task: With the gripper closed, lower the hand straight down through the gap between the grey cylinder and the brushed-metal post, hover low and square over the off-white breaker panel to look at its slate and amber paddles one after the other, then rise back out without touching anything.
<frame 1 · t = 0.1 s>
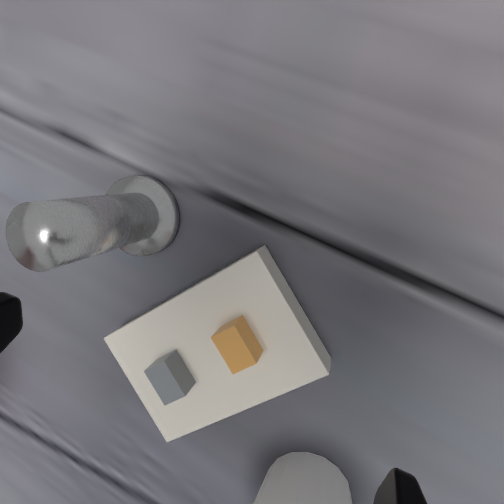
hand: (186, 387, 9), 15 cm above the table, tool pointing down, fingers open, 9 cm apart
breaker panel: (219, 341, 26), on the table
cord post: (143, 215, 25), on the table
grey cylinder: (307, 486, 26), on the table
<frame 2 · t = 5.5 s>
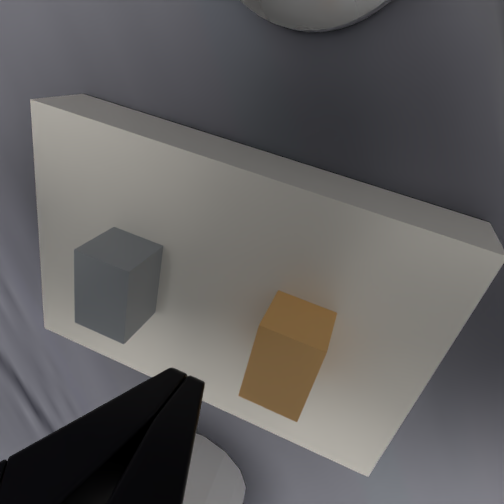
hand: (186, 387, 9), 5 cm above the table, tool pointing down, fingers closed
breaker panel: (237, 270, 13), on the table
grey cylinder: (191, 466, 19), on the table
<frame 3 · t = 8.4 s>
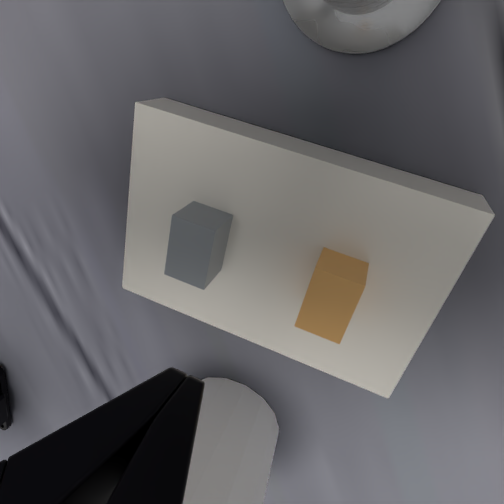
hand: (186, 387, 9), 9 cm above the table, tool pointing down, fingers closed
breaker panel: (283, 238, 16), on the table
grey cylinder: (231, 414, 22), on the table
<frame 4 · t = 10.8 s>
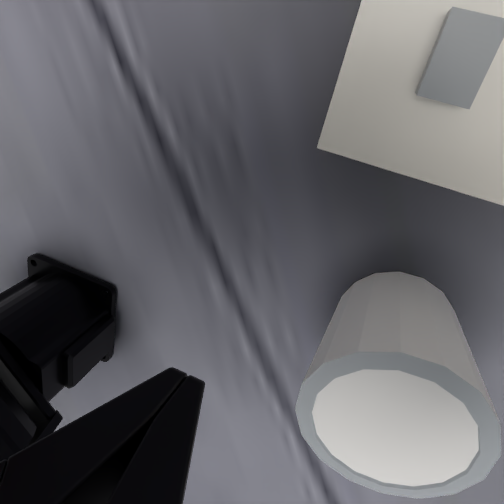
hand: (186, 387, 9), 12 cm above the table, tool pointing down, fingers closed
grey cylinder: (393, 319, 20), on the table
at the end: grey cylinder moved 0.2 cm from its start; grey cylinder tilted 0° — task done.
